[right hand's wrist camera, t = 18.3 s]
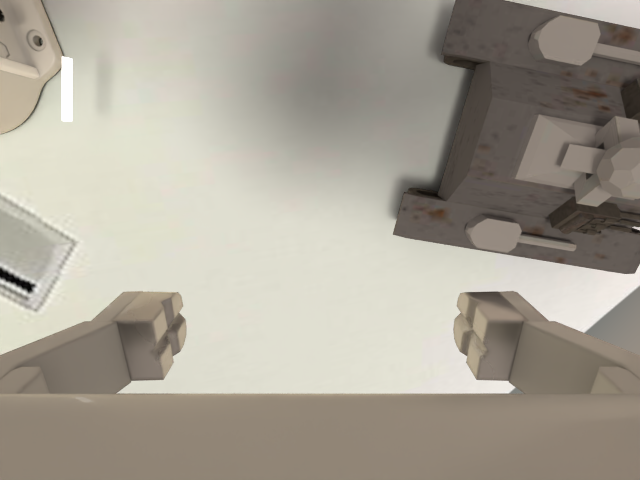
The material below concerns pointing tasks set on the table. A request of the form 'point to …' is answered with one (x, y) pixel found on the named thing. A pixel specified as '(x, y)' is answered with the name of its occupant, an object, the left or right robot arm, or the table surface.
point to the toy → (539, 140)
